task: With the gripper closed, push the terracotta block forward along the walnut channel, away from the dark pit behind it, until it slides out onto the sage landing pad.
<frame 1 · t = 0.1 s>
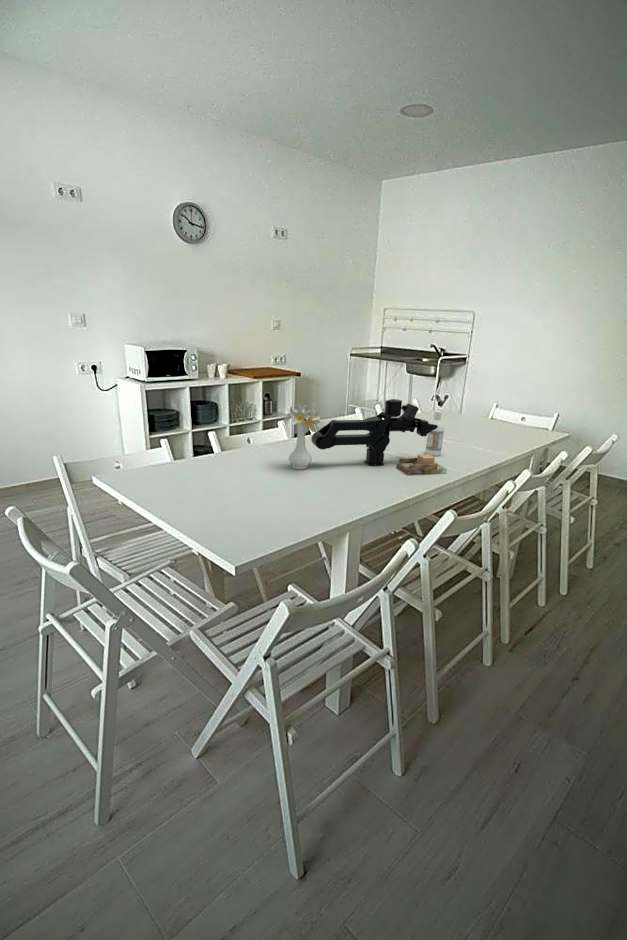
hand: (431, 424, 206), 17 cm above the table, tool horizontal, fingers open, 9 cm apart
block: (424, 465, 198), point 2 cm above the table, touching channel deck
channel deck: (421, 470, 198), on the table
flower vase: (301, 467, 194), on the table
bath foam: (432, 454, 223), on the table
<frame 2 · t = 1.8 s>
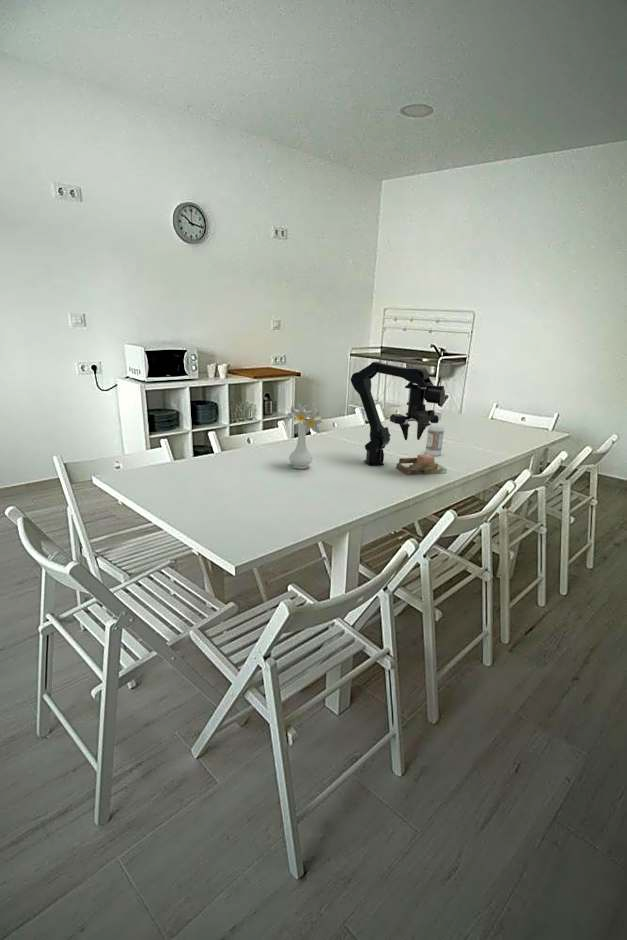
hand: (412, 439, 192), 13 cm above the table, tool pointing down, fingers open, 5 cm apart
nothing on the table moved.
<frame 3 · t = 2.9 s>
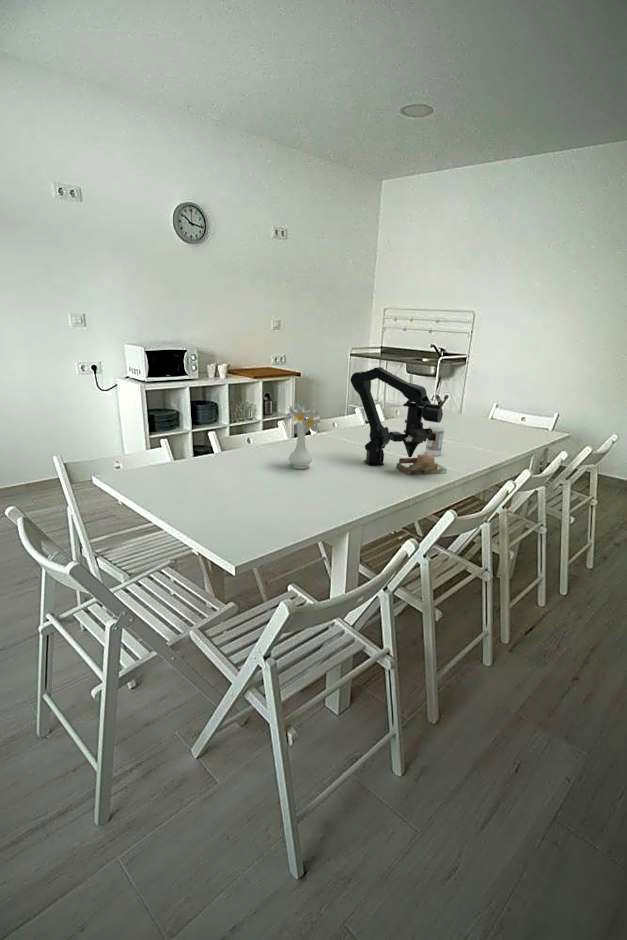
hand: (409, 456, 194), 6 cm above the table, tool pointing down, fingers closed
nothing on the table moved.
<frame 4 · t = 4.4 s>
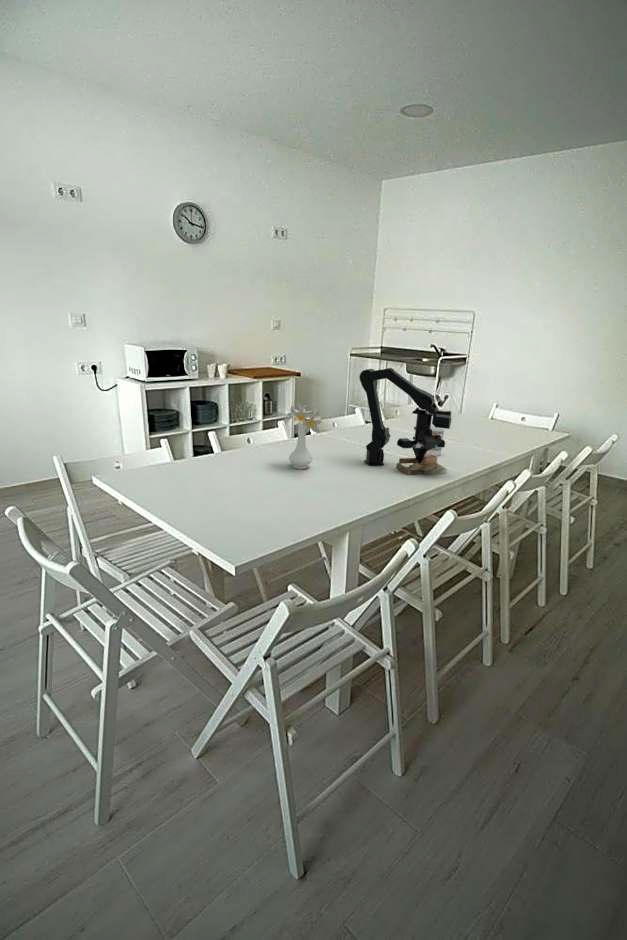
hand: (418, 463, 196), 3 cm above the table, tool pointing down, fingers closed
block: (427, 465, 198), point 2 cm above the table, touching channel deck, gripper
everything else where it was.
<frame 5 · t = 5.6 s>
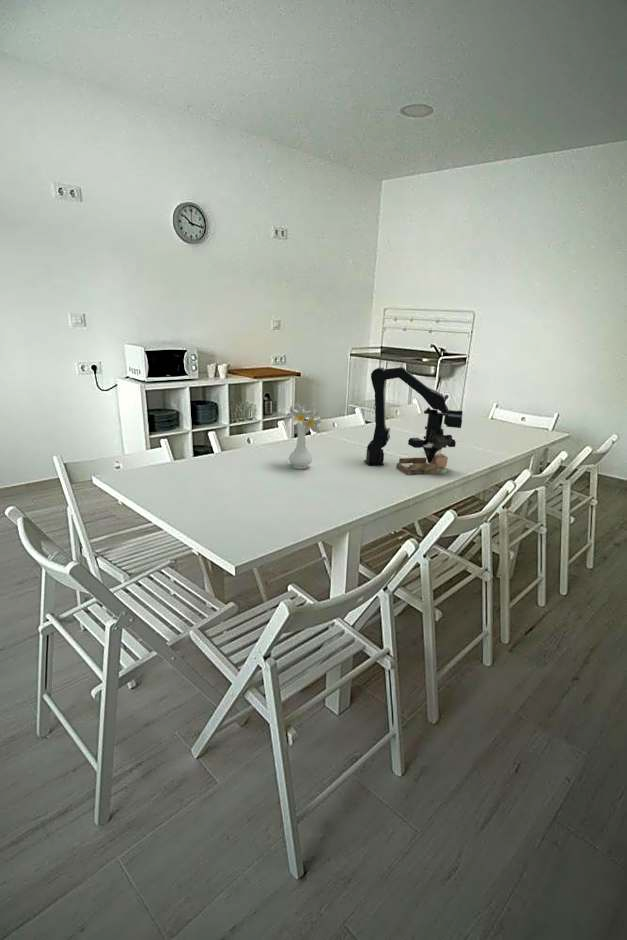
hand: (429, 462, 198), 3 cm above the table, tool pointing down, fingers closed
block: (437, 465, 199), point 2 cm above the table, touching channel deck, gripper
everything else where it was.
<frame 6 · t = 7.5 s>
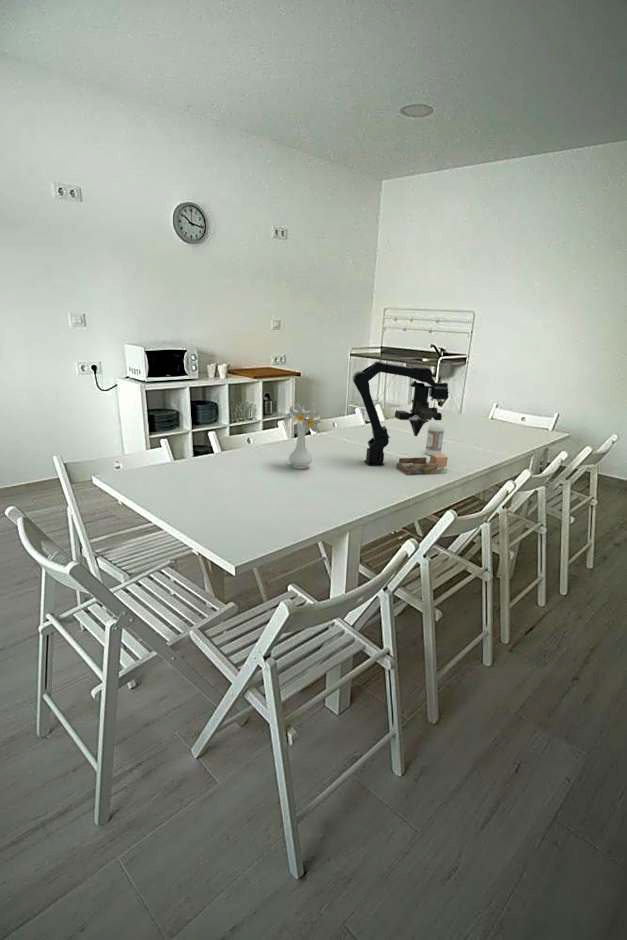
hand: (415, 435, 200), 13 cm above the table, tool pointing down, fingers closed
block: (437, 465, 199), point 2 cm above the table, touching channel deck
everything else where it was.
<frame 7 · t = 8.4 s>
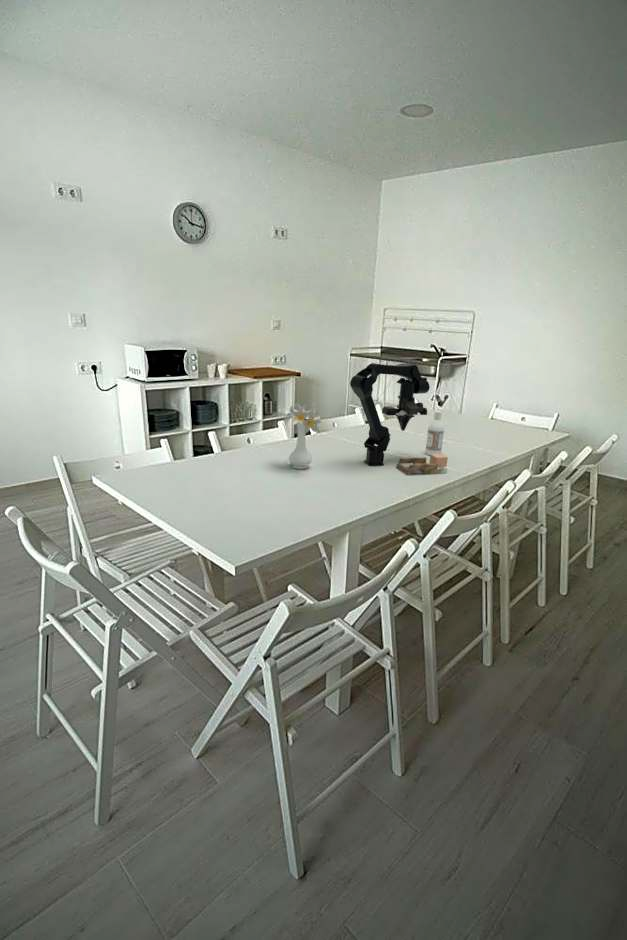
hand: (402, 430, 208), 13 cm above the table, tool pointing down, fingers closed
nothing on the table moved.
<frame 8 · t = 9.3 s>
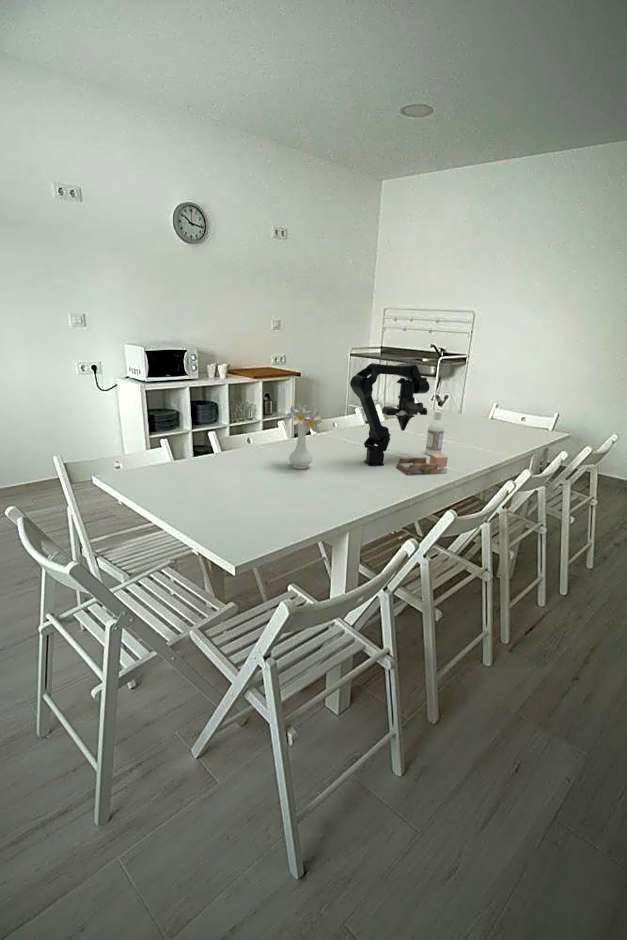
hand: (402, 430, 208), 13 cm above the table, tool pointing down, fingers closed
nothing on the table moved.
at the end: block 0.1 cm from the target spot on the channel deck, point 2.0 cm above the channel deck's base; block tilted 0° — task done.
